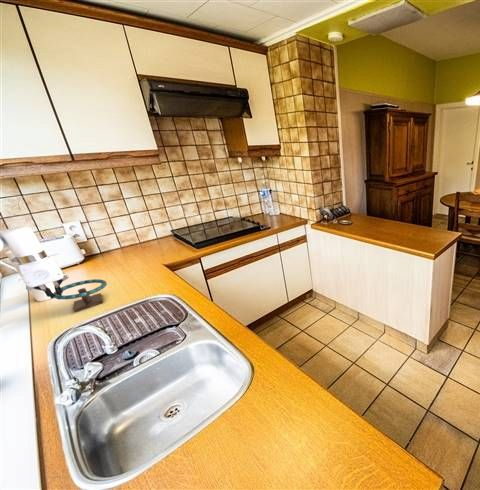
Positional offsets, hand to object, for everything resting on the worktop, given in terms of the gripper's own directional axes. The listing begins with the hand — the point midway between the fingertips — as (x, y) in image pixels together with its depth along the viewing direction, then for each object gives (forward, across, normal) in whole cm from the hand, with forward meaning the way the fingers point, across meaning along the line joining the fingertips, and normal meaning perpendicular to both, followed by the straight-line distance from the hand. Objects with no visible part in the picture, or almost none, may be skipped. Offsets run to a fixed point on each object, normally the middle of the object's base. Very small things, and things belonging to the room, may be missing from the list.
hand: (56, 295), depth 113 cm
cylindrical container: (+8, -7, +25) cm, 27 cm away
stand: (+8, +7, 0) cm, 11 cm away
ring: (0, +7, 0) cm, 7 cm away
